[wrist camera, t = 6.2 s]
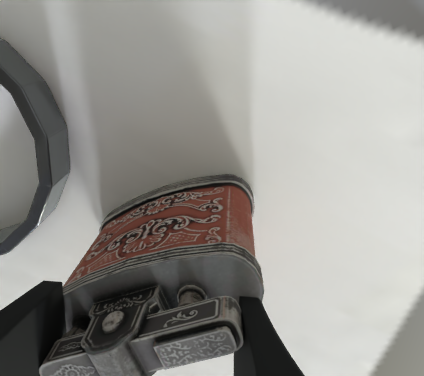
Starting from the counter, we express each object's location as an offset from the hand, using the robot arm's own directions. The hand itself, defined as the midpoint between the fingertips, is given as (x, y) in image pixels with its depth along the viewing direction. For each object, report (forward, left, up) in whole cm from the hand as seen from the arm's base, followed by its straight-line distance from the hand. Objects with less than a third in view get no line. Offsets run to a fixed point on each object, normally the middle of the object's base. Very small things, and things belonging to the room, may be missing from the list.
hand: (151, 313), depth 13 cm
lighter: (0, 0, -8) cm, 8 cm away
